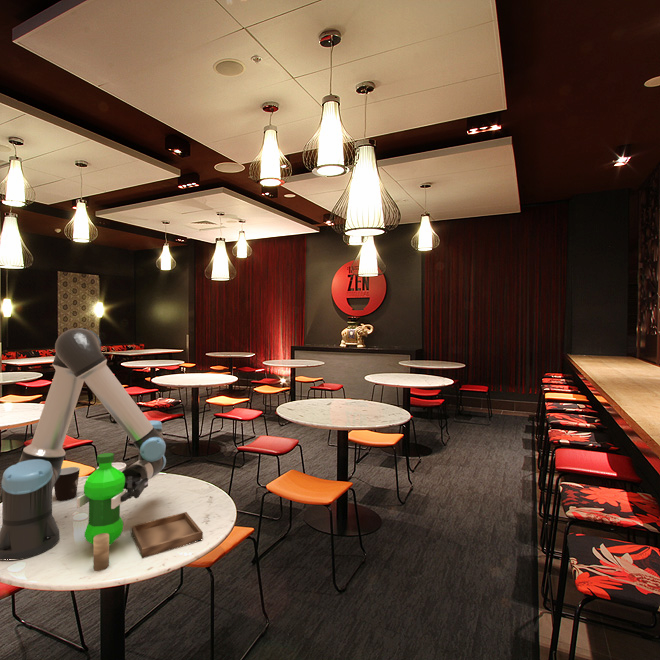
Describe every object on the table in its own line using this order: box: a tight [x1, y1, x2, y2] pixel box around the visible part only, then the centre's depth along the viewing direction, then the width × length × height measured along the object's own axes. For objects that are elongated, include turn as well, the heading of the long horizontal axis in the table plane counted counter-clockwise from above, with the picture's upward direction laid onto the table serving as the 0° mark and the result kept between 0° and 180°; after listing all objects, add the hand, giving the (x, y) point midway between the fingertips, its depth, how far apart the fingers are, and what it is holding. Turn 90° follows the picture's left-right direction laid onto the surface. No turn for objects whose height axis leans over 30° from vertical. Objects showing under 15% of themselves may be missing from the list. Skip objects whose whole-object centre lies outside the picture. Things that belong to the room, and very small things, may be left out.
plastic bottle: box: [83, 452, 125, 546], centre depth 117 cm, size 10×10×25 cm
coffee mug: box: [53, 466, 81, 502], centre depth 154 cm, size 12×9×10 cm
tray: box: [130, 511, 204, 559], centre depth 124 cm, size 17×17×2 cm
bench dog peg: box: [92, 533, 110, 572], centre depth 108 cm, size 4×4×8 cm
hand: (95, 503), depth 113 cm, fingers closed on plastic bottle, 9 cm apart
